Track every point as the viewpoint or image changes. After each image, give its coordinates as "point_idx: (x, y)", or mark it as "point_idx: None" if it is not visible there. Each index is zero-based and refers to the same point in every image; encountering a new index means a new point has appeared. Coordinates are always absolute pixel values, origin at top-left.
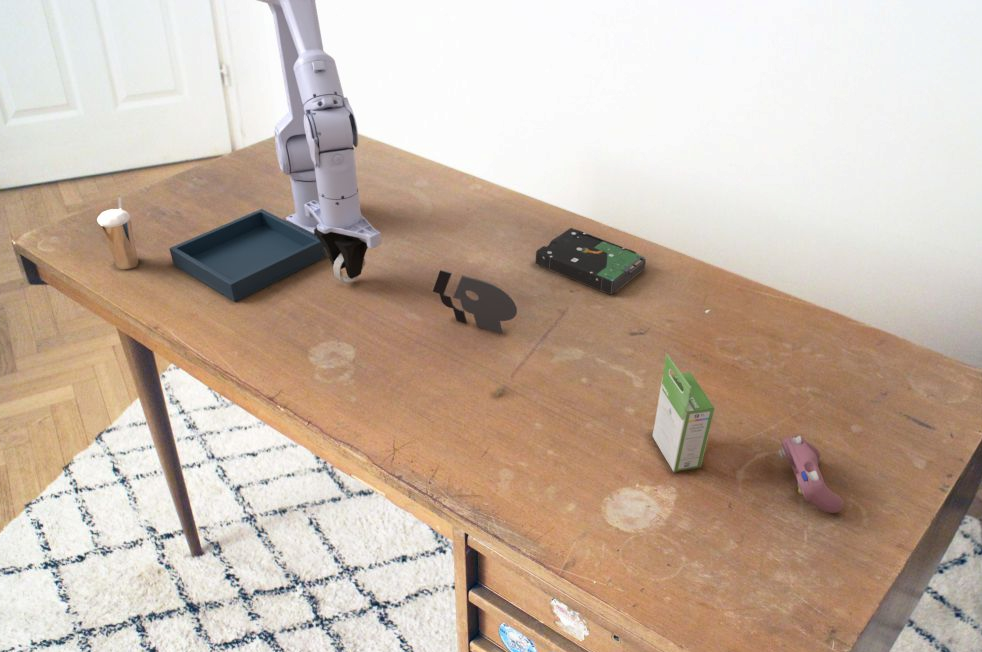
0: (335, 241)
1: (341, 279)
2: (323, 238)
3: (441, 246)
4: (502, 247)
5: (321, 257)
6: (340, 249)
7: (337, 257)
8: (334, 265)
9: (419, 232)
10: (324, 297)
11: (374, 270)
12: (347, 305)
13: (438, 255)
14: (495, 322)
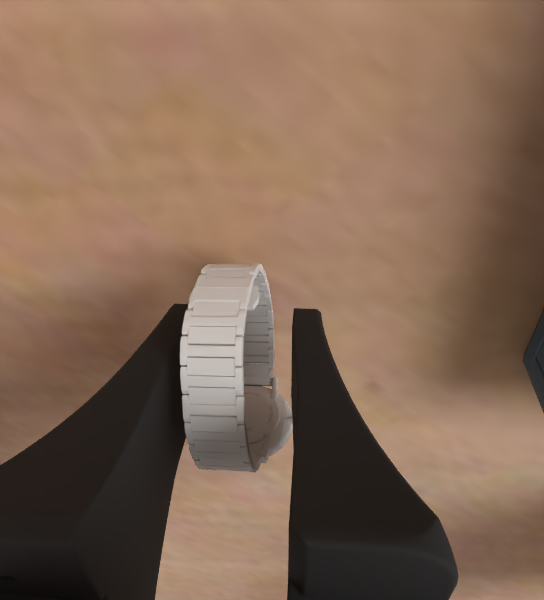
0: (62, 544)
1: (202, 270)
2: (292, 511)
3: (217, 544)
4: None
5: (532, 348)
6: (94, 467)
7: (239, 386)
8: (235, 325)
9: None
10: (240, 119)
11: None
12: (80, 150)
13: (181, 520)
14: None
